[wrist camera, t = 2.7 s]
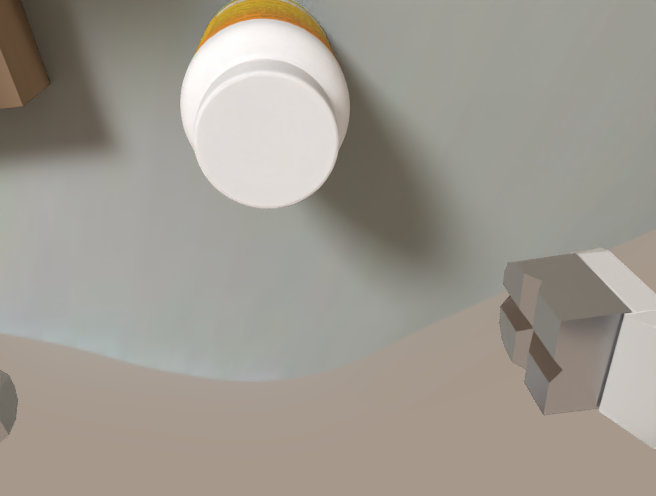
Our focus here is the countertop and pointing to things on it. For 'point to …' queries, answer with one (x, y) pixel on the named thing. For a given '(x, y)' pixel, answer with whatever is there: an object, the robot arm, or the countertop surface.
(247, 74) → the supplement bottle
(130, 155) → the countertop surface
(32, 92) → the socket dock
